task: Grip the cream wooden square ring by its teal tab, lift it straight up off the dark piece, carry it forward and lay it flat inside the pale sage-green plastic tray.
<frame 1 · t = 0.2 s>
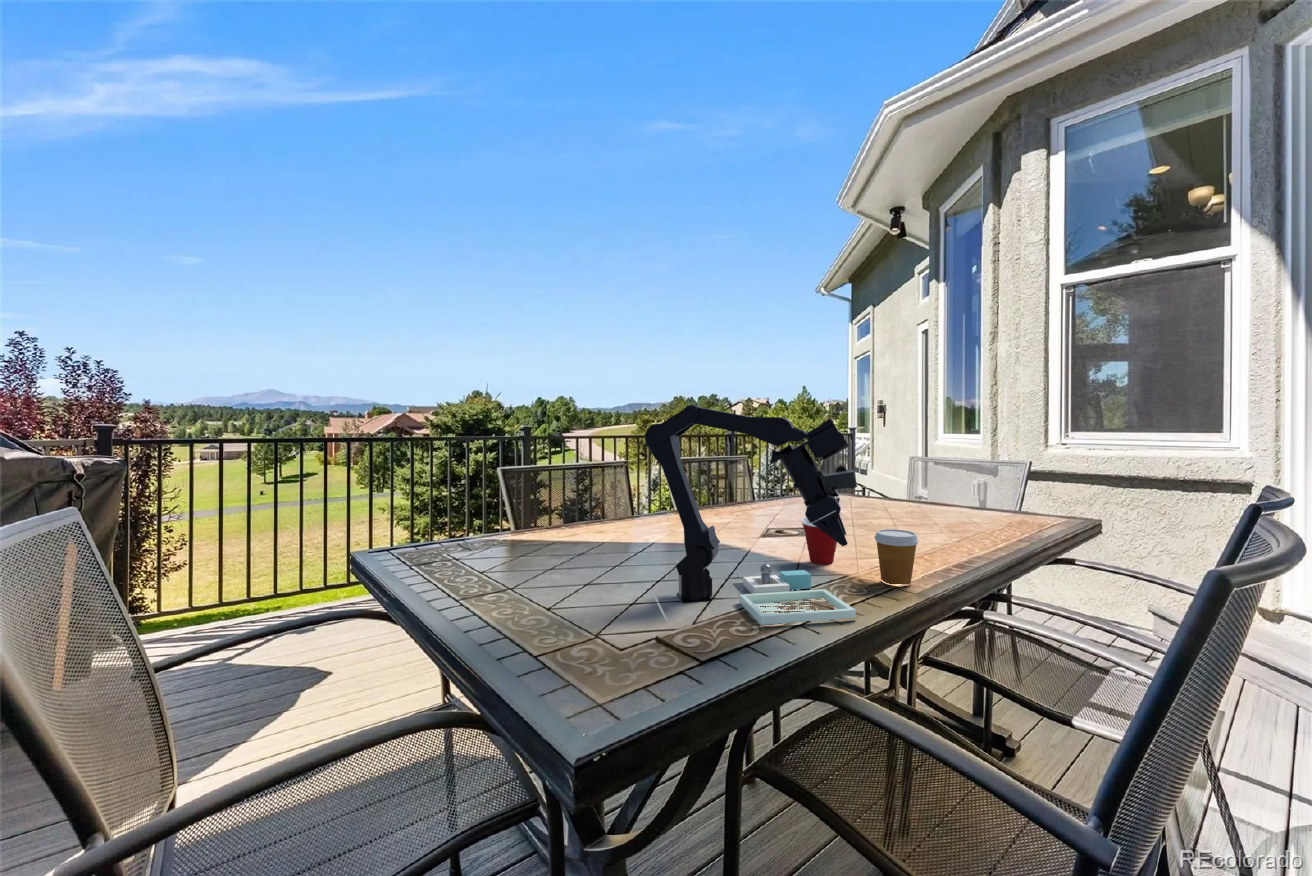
hand: (844, 540, 110), 15 cm above the table, tool tilted 30°, fingers open, 9 cm apart
dark piece: (765, 591, 124), on the table
plastic cup: (821, 564, 148), on the table
tray: (795, 612, 111), on the table
disposable coffee cup: (896, 584, 129), on the table
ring: (765, 589, 124), touching dark piece
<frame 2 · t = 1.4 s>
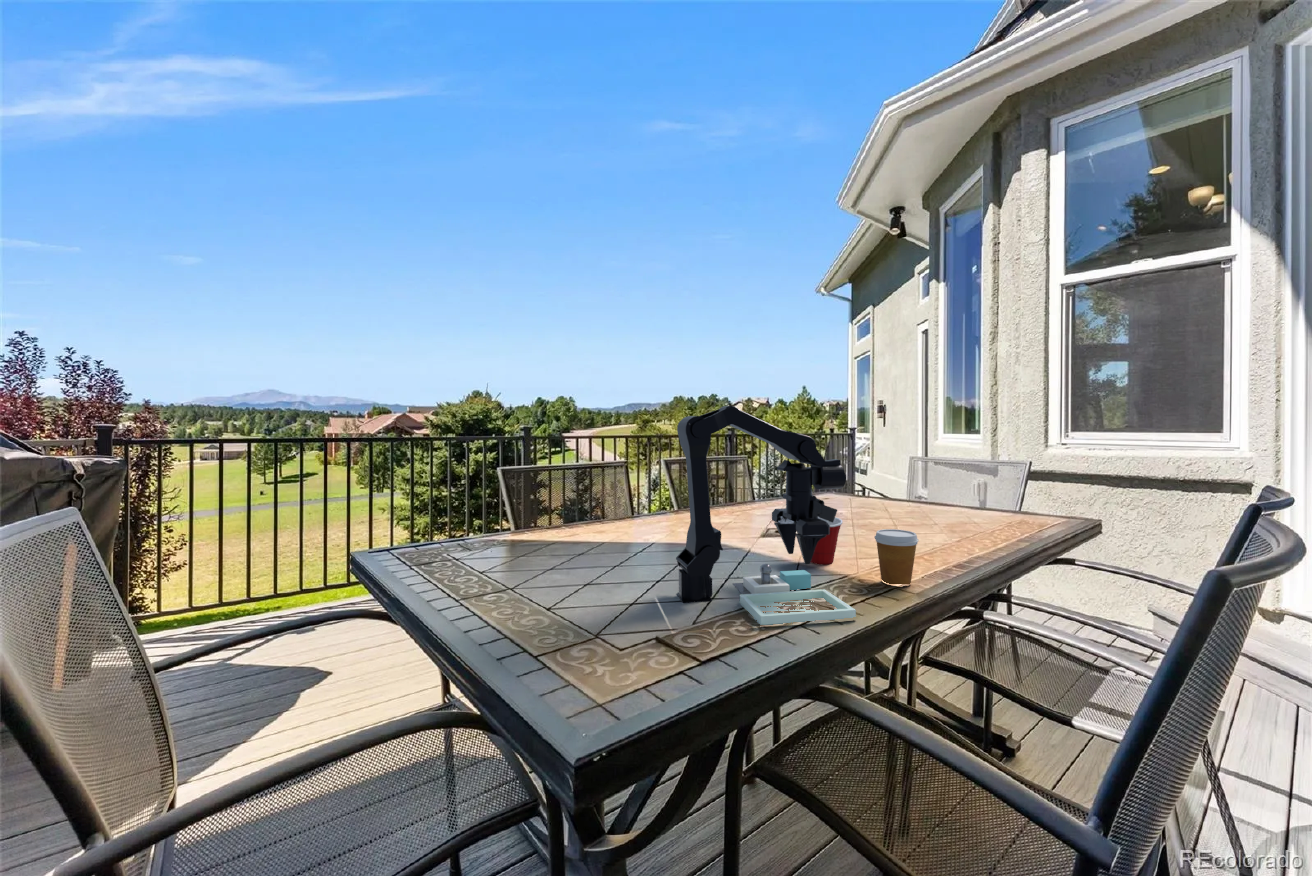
hand: (798, 558, 125), 7 cm above the table, tool pointing down, fingers open, 9 cm apart
nothing on the table moved.
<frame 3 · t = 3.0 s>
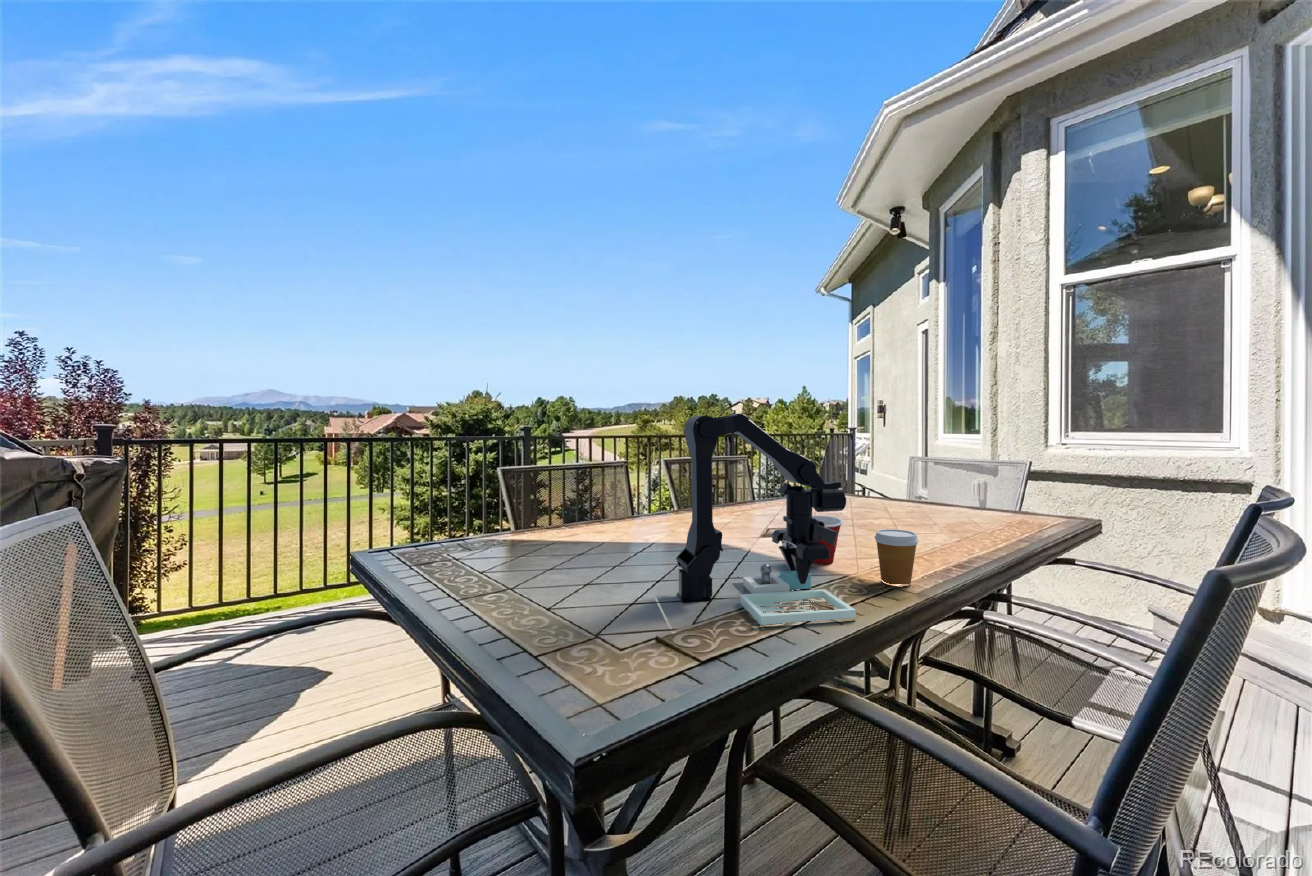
hand: (799, 581, 126), 2 cm above the table, tool pointing down, fingers closed on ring, 3 cm apart
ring: (765, 589, 124), touching gripper, dark piece
everything else where it was.
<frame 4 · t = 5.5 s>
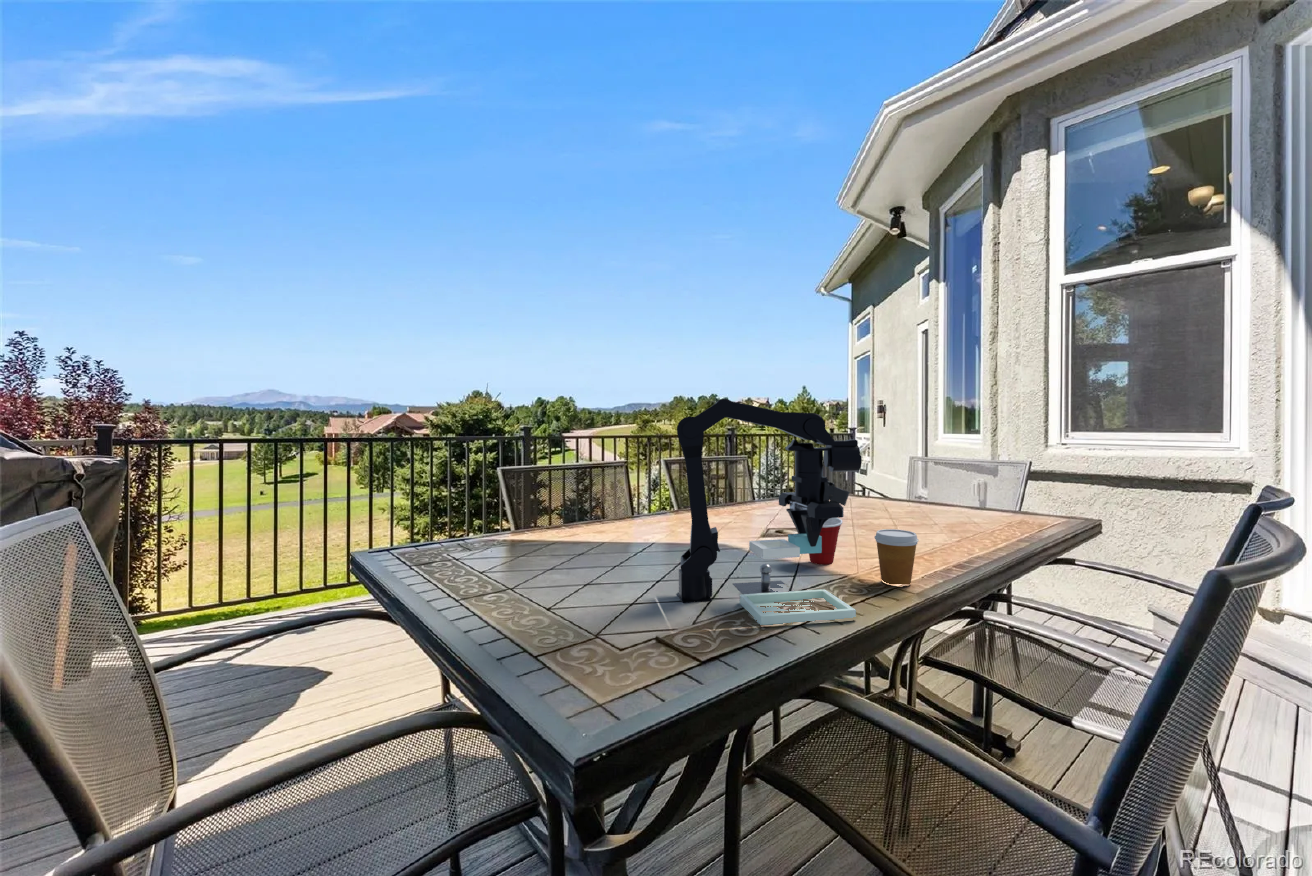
hand: (808, 544, 118), 12 cm above the table, tool pointing down, fingers closed on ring, 3 cm apart
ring: (773, 553, 117), point 10 cm above the table, touching gripper
everything else where it was.
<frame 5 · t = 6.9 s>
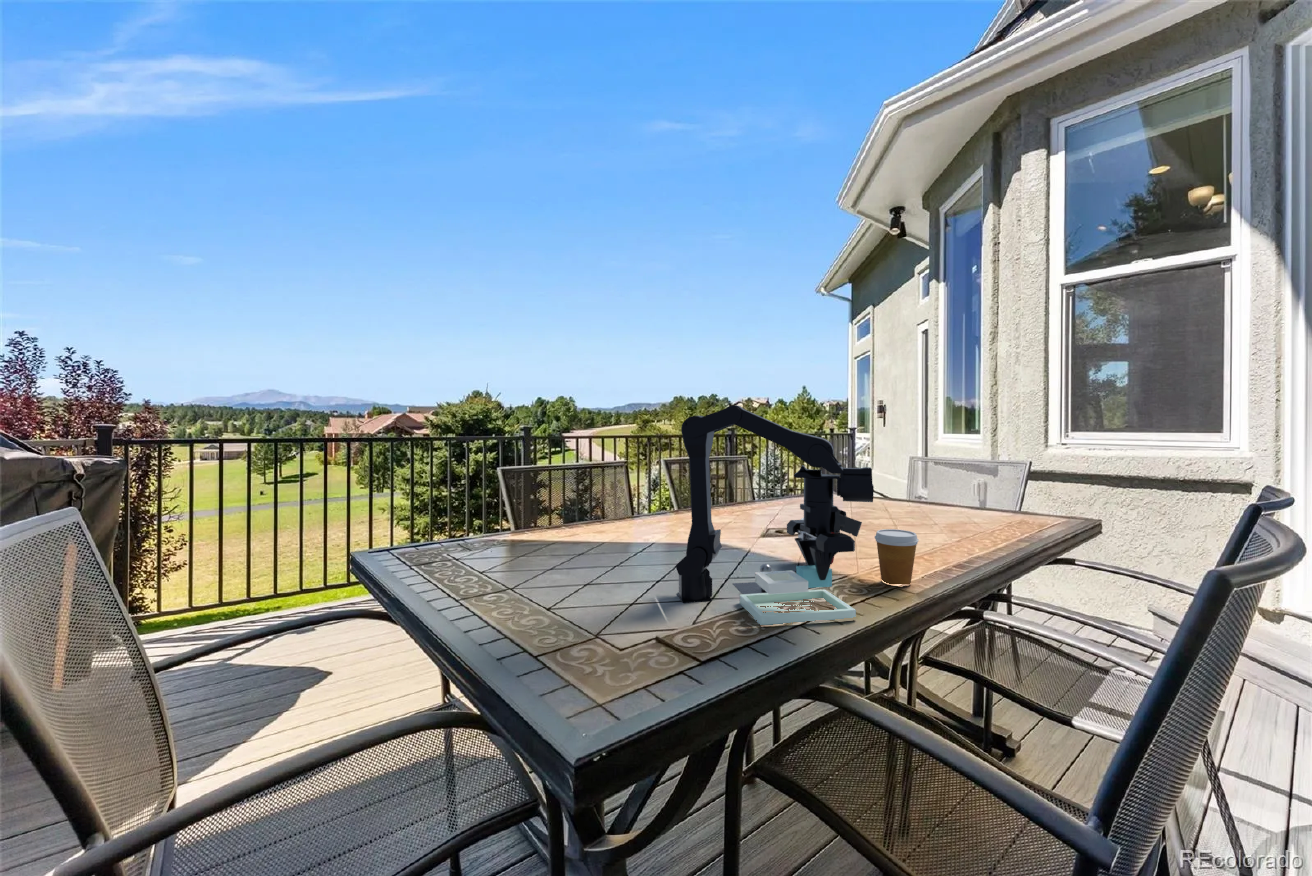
hand: (818, 577, 111), 7 cm above the table, tool pointing down, fingers closed on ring, 3 cm apart
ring: (780, 586, 110), point 5 cm above the table, touching gripper
everything else where it was.
when the fingers open (3 cm above the table, at t = 8.2 s): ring drops 1 cm, resting on tray.
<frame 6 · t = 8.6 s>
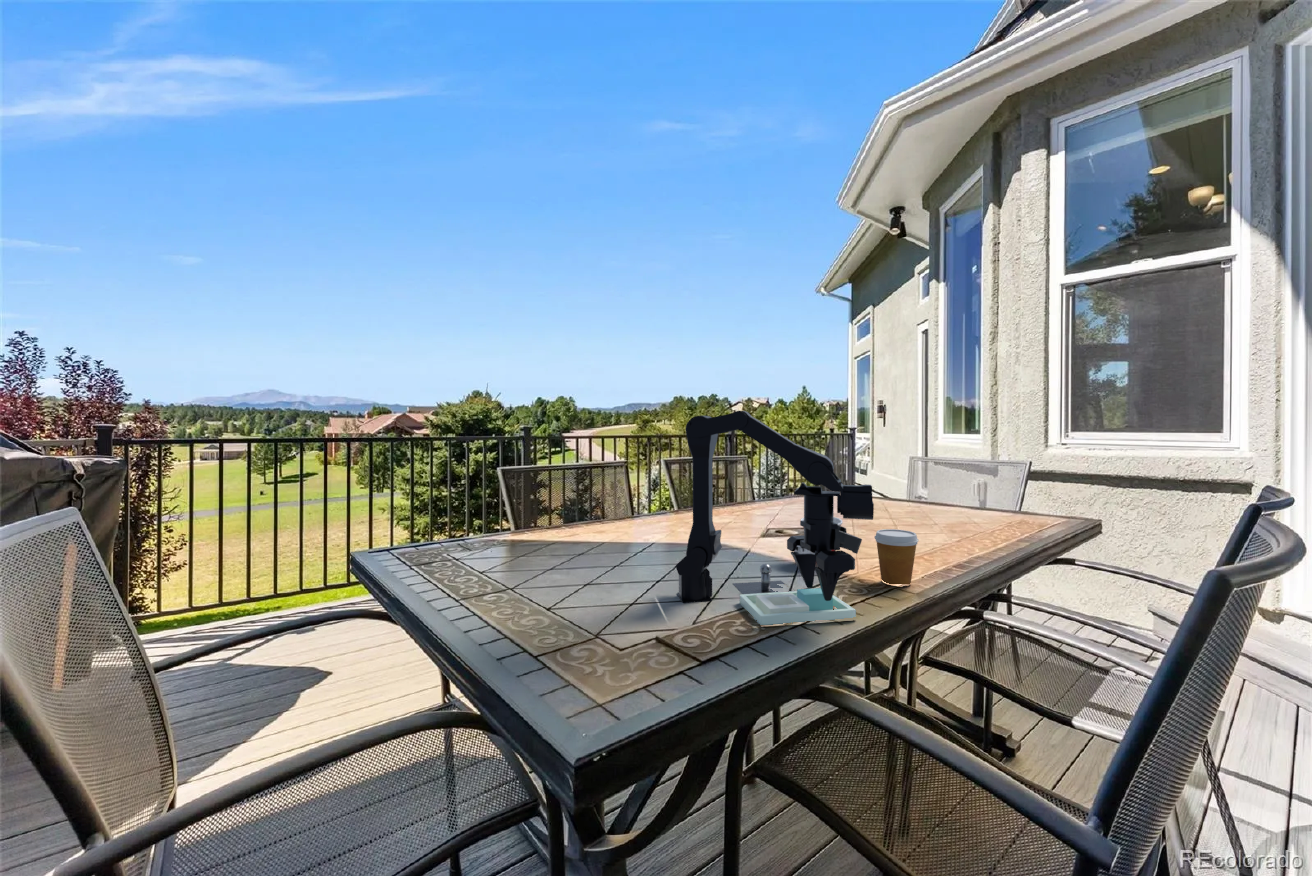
hand: (818, 594, 111), 3 cm above the table, tool pointing down, fingers open, 8 cm apart
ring: (781, 610, 110), point 1 cm above the table, touching tray
everything else where it was.
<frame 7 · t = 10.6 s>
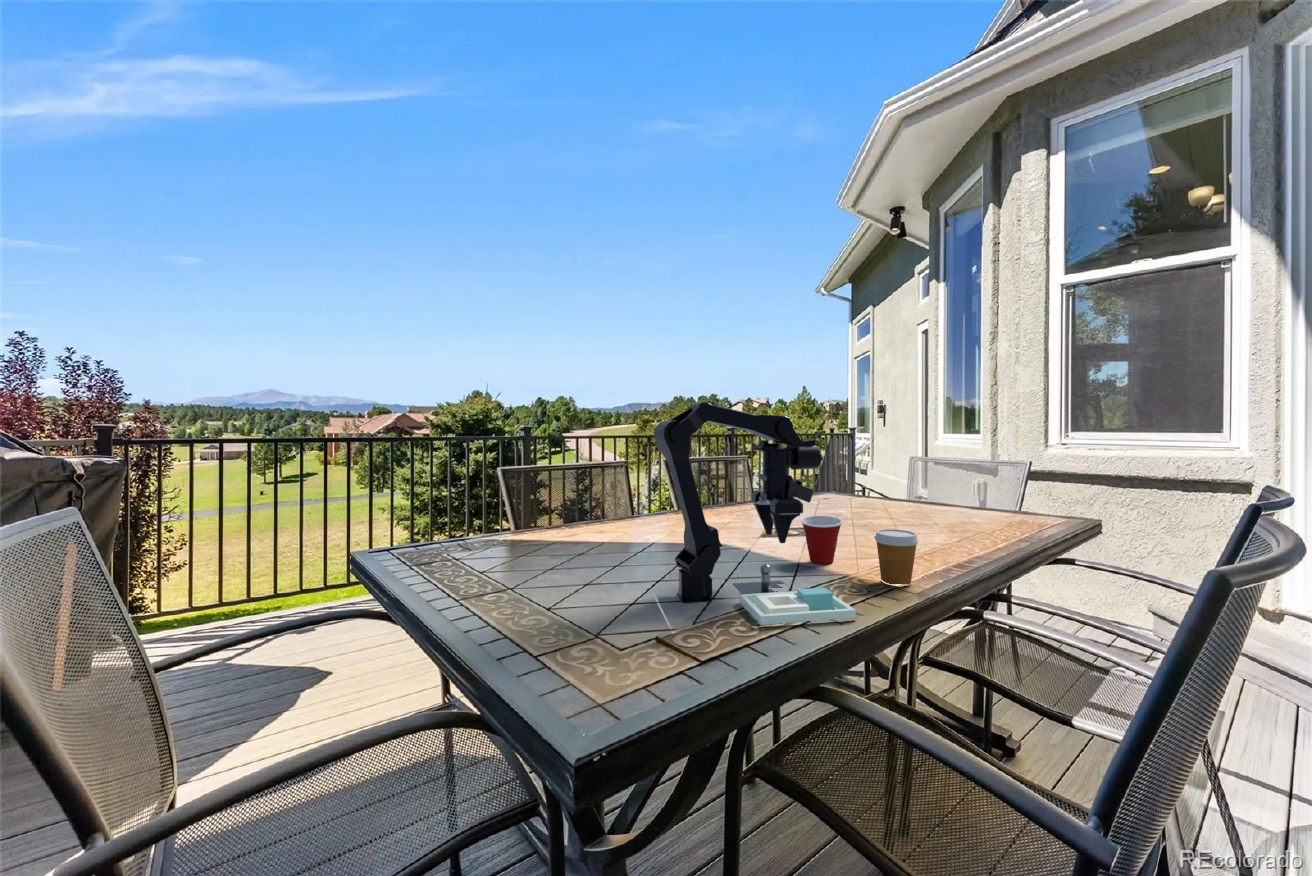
hand: (775, 538, 126), 12 cm above the table, tool pointing down, fingers open, 9 cm apart
nothing on the table moved.
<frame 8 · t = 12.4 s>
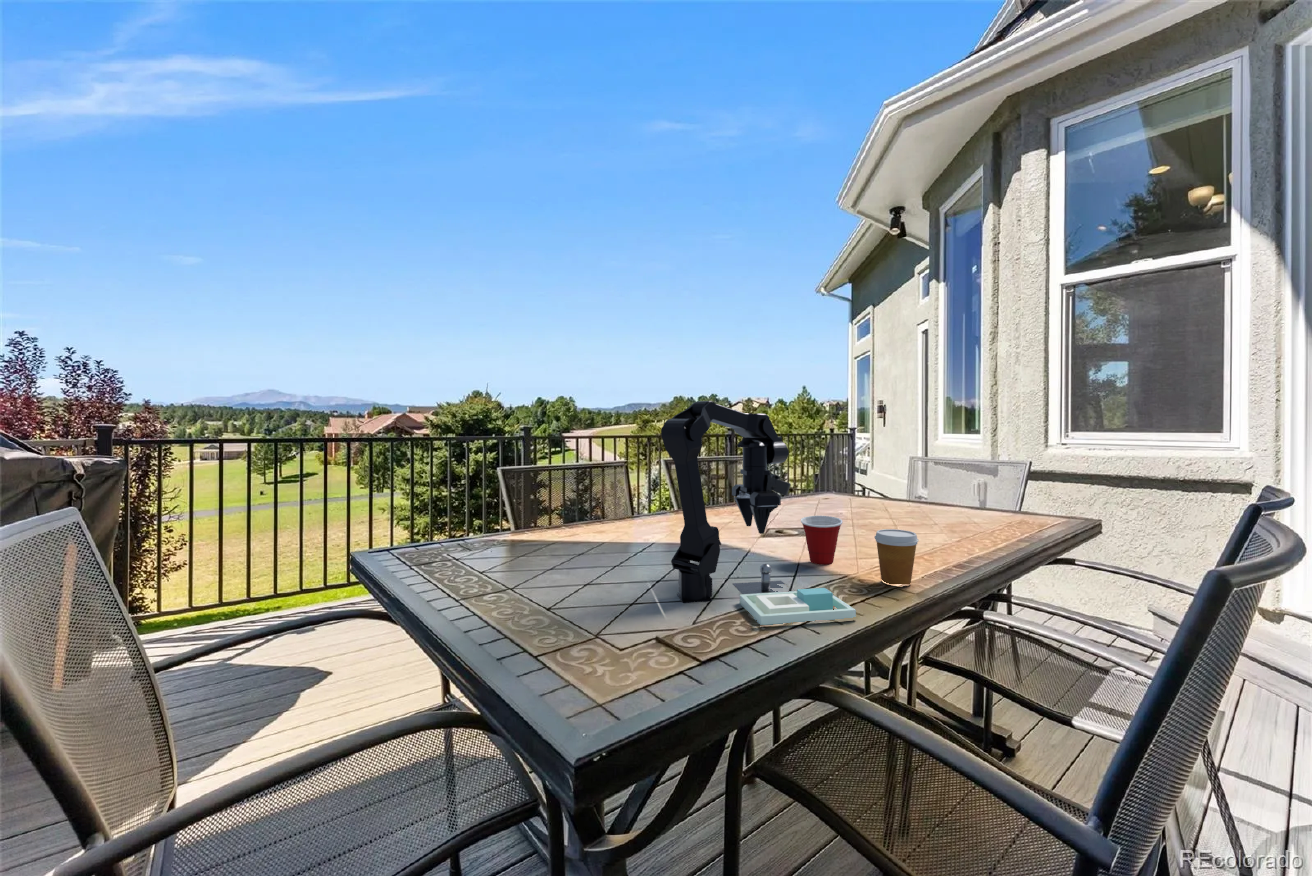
hand: (754, 529, 134), 12 cm above the table, tool pointing down, fingers open, 9 cm apart
nothing on the table moved.
at the end: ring inside the target area on the tray (0.2 cm from its centre), point 0.6 cm above the tray's base; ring tilted 0°; the gripper is holding nothing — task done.
